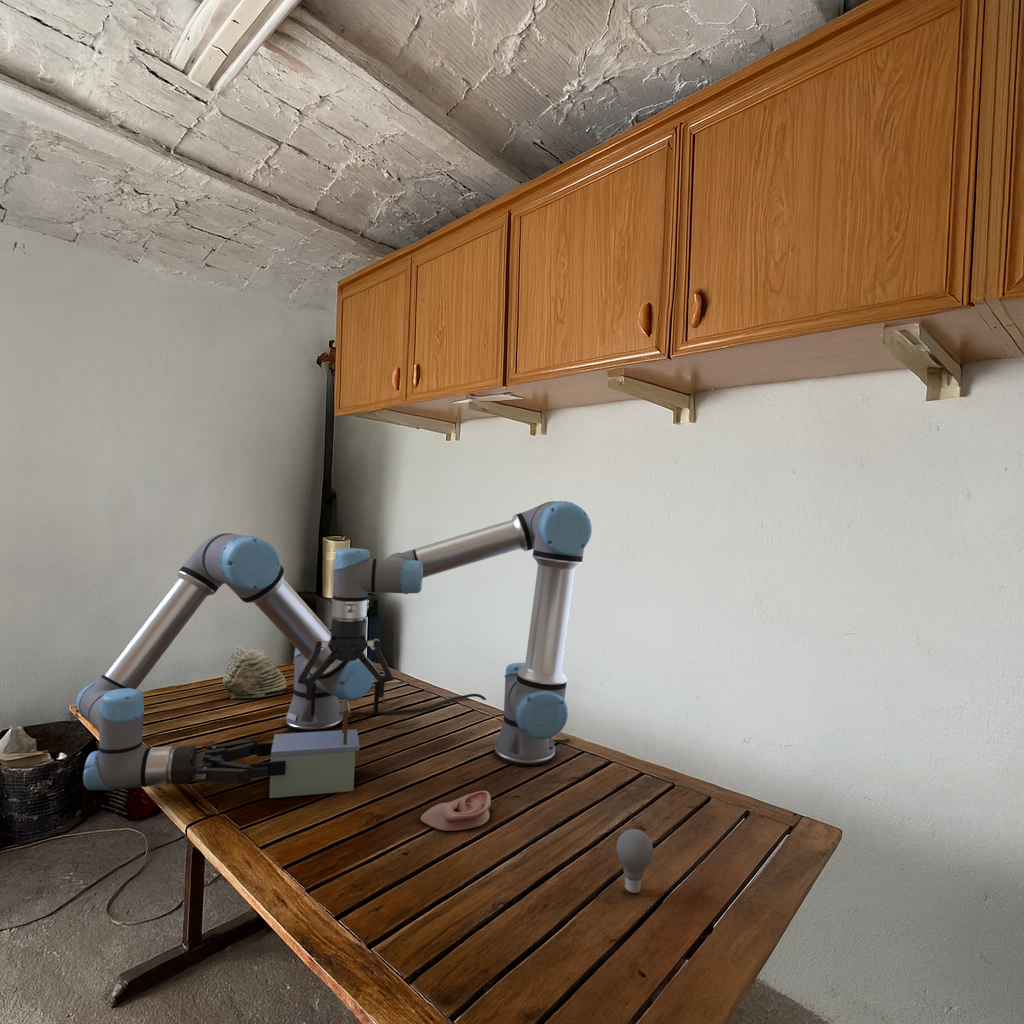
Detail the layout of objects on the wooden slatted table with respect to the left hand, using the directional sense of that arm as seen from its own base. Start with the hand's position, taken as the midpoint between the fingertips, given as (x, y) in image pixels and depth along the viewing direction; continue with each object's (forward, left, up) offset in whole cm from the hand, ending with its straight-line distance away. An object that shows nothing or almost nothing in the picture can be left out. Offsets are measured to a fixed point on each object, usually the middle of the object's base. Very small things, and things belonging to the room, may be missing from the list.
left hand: (286, 757), depth 138 cm
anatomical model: (-16, +36, -6) cm, 40 cm away
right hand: (-10, +7, +9) cm, 15 cm away
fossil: (-27, -62, -6) cm, 68 cm away
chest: (-5, +3, -6) cm, 8 cm away
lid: (-5, +3, +2) cm, 6 cm away
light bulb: (-18, +74, -6) cm, 77 cm away
